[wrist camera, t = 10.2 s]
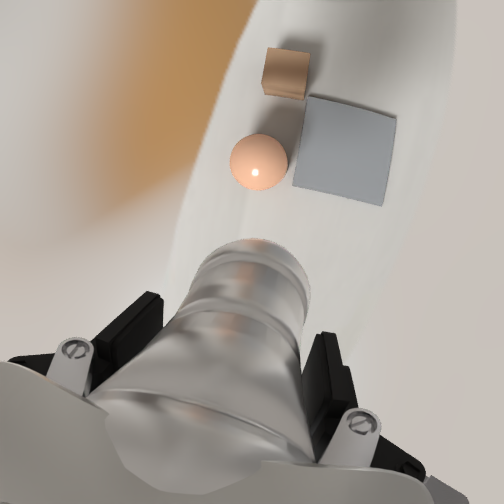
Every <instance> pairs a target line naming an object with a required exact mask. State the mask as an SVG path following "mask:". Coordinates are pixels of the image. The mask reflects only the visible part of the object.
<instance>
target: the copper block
mask: <svg viewBox="0 0 504 504" xmlns="http://www.w3.org/2000/svg"><path fill="white" fill-rule="evenodd" d="M309 60H310V53H305V52H299V51H292V50H285V49H277V48H268V49H267V55H266V60H265V65H264V71H263V76H262V82H261V84H262V87H263V90H264V93H265V95H273V96H280V97H286V98H292V99H298V100H304V94H305V87H306V81H307V74H308V67H309Z"/></svg>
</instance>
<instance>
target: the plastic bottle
mask: <svg viewBox="0 0 504 504" xmlns="http://www.w3.org/2000/svg"><path fill="white" fill-rule="evenodd" d="M309 303H310V285H309V281H308V277H307V275H306V273H305V271H304V269H303V268H302V266H301V265H300V263H299V262H298V261H297V259H296V258H295V257H294V256H293V254H292V253H290V252H289V251H288V250H287V249H285V248H284V247H282V246H280V245H278V244H277V243H275V242H271V241H268V240H265V239H256V238H250V239H241V240H238V241H234V242H231V243H228V244H226V245H224V246H222V247H220V248H218V249H216V250H215V251H213V252H212V253H211V254H210V255H208V256H207V257H206V259H205V260H204V261H203V262H202V264H201V265H200V267H199V269H198V271H197V273H196V275H195V277H194V279H193V281H192V283H191V286H190V289H189V292H188V294H187V296H186V297H185V299H184V301H183V302H182V304H181V306H180V307H179V309H178V311H177V312H176V314H175V316H174V317H173V318H172V319H171V320H170V321H169V322H168V323H167V325H166V326H165V327H163V328H162V329H161V331H160V332H159V333H158V334H157V335H156V336H155V337H154V338H153V339H152V340H151V341H150V342H149V344H148V345H147V346H146V347H145V348H144V349H143V350H142V351H141V352H139V353H138V354H137V355H136V356H135V357H133V358H132V359H131V360H130V361H129V362H127V363H126V364H125V365H124V366H123V367H121V368H120V369H119V370H118V371H117V372H115V373H114V374H113V375H112V376H110V377H109V378H108V379H107V380H106V381H104V382H103V383H102V384H101V385H100V386H98V387H97V388H96V389H95V390H94V391H92V392H91V393H90V394H89V396H88V397H86V398H87V399H89V400H91V401H93V402H94V403H95V404H97V405H98V406H100V407H101V408H102V409H104V410H105V411H107V412H108V413H109V415H108V416H107V417H106V418H105V419H104V420H105V428H106V430H107V432H108V435H109V437H110V439H111V441H112V443H113V445H114V447H115V449H116V451H117V453H118V455H119V457H120V459H121V461H122V463H123V465H124V467H125V468H126V469H127V470H129V471H130V472H132V473H133V474H134V475H136V476H137V477H139V478H140V479H142V480H143V481H144V482H146V483H147V484H149V485H151V486H152V487H154V488H156V489H158V490H161V491H165V492H171V493H182V494H196V495H204V494H207V493H210V492H212V491H215V490H218V489H220V488H223V487H226V486H228V485H231V484H233V483H235V482H238V481H240V480H242V479H244V478H247V477H249V476H251V475H253V474H254V473H256V472H257V471H258V470H259V469H260V468H261V461H298V462H307V463H316V458H315V453H314V448H313V443H312V438H311V433H310V428H309V424H308V419H307V414H306V409H305V405H304V400H303V386H302V374H301V368H300V347H301V339H302V331H303V326H304V323H305V321H306V318H307V313H308V308H309Z"/></svg>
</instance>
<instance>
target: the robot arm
mask: <svg viewBox="0 0 504 504" xmlns="http://www.w3.org/2000/svg"><path fill="white" fill-rule="evenodd" d="M163 307H164V300H163V299H162V298H160V295H159V294H156V293H153V292H149V291H146V292H145V293H144V294H143V295H142V296H140V297H139V298H138V299H137V300H136V301H135V302H134V303H133V304H131V305H130V306H129V307H128V308H127V309H126V310H125V311H124V312H122V313H121V314H120V315H119V316H118V317H117V318H116V319H114V320H113V321H112V322H111V323H110V324H109V325H108V326H107V327H106V328H105V329H103V330H102V331H101V332H100V333H99V334H98V335H97V336H96V337H95V338H94V339H93V340H91V341H88V340H86V339H83V338H77V337H74V338H69V339H66V340H64V341H63V342H61V343H60V345H59V346H58V348H57V351H56V353H53V354H41V355H28V356H17V357H13V358H11V359H10V360H9V361H7V362H6V361H0V504H469V501H468V499H467V497H465V496H464V495H463V494H462V493H460V492H458V491H457V490H455V489H453V488H451V487H450V486H448V485H446V484H445V483H443V482H441V481H440V480H438V479H437V478H435V477H434V476H432V475H431V476H430V477H427V476H426V471H425V468H424V466H423V465H422V463H421V462H420V461H418V460H417V459H415V458H414V457H412V456H411V455H409V454H408V453H406V452H405V451H403V450H402V449H400V448H399V447H397V446H396V445H394V444H393V443H391V442H390V441H388V440H387V439H385V438H384V437H382V436H381V435H380V432H381V422H380V420H379V419H378V417H377V416H376V415H375V414H374V413H372V412H371V411H369V410H366V409H363V408H358V403H357V398H356V394H355V390H354V385H353V381H352V376H351V372H350V368H349V367H348V366H344V365H343V364H342V359H341V354H340V350H339V345H338V341H337V337H336V334H335V333H330V332H324V331H322V333H321V334H316V336H315V339H314V342H313V345H312V348H311V351H310V354H309V356H308V359H307V362H306V365H305V367H304V370H303V373H302V386H303V400H304V405H305V409H306V414H307V419H308V424H309V428H310V433H311V438H312V443H313V448H314V453H315V458H316V463H307V462H298V461H261V468H260V469H259V470H258V471H257V472H256V473H254V474H253V475H251V476H249V477H247V478H244V479H242V480H240V481H238V482H235V483H233V484H231V485H228V486H226V487H223V488H220V489H218V490H215V491H212V492H210V493H207V494H204V495H196V494H182V493H171V492H165V491H161V490H158V489H156V488H154V487H152V486H151V485H149V484H147V483H146V482H144V481H143V480H142V479H140V478H139V477H137V476H136V475H134V474H133V473H132V472H130V471H129V470H127V469H126V468H125V467H124V465H123V463H122V461H121V459H120V457H119V455H118V453H117V451H116V449H115V447H114V445H113V443H112V441H111V439H110V437H109V435H108V432H107V430H106V428H105V420H104V419H105V418H106V417H107V416H108V415H109V413H108V412H107V411H105V410H104V409H102V408H101V407H100V406H98V405H97V404H95V403H94V402H93V401H91V400H89V399H87V398H86V397H88V396H89V394H90V393H91V392H92V391H94V390H95V389H96V388H97V387H98V386H100V385H101V384H102V383H103V382H104V381H106V380H107V379H108V378H109V377H110V376H112V375H113V374H114V373H115V372H117V371H118V370H119V369H120V368H121V367H123V366H124V365H125V364H126V363H127V362H129V361H130V360H131V359H132V358H133V357H135V356H136V355H137V354H138V353H139V352H141V351H142V350H143V349H144V348H145V347H146V346H147V345H148V344H149V342H150V341H151V340H152V339H153V338H154V337H155V336H156V335H157V334H158V333H159V332H160V331H161V329H162V328H163Z"/></svg>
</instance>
